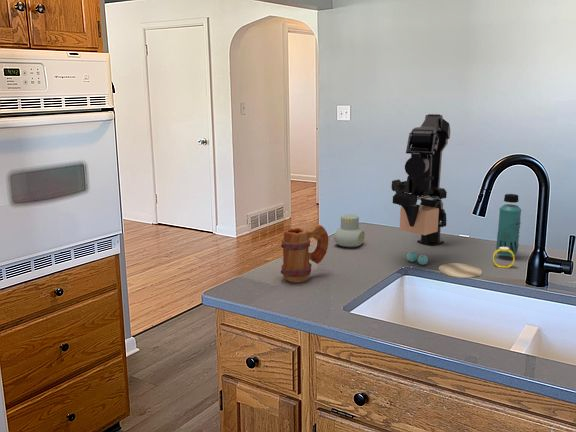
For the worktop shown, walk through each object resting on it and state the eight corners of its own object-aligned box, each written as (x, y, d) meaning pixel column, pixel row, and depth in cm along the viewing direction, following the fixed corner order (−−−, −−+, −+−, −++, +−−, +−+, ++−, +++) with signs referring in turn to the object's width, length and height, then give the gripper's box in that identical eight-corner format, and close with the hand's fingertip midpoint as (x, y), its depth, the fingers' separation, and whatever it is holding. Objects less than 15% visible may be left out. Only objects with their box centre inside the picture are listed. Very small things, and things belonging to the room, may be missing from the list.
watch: (492, 268, 171) (492, 248, 169) (492, 265, 173) (492, 246, 172) (514, 269, 169) (514, 249, 167) (514, 266, 171) (514, 246, 170)
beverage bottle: (494, 259, 178) (499, 195, 173) (495, 253, 184) (500, 191, 179) (517, 262, 175) (523, 197, 171) (517, 256, 181) (523, 193, 177)
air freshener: (355, 251, 188) (356, 221, 185) (331, 248, 191) (332, 218, 189) (366, 242, 197) (367, 214, 195) (343, 240, 201) (343, 211, 198)
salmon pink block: (412, 226, 178) (413, 203, 176) (437, 231, 171) (438, 208, 170) (399, 229, 174) (400, 206, 172) (424, 235, 167) (425, 211, 166)
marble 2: (421, 262, 175) (421, 252, 175) (429, 264, 173) (430, 255, 172) (415, 264, 173) (415, 254, 173) (423, 266, 171) (423, 257, 171)
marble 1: (410, 259, 178) (411, 250, 178) (418, 261, 176) (419, 252, 175) (404, 261, 176) (404, 251, 176) (412, 263, 174) (412, 254, 173)
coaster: (454, 262, 175) (454, 260, 175) (490, 271, 166) (490, 270, 166) (430, 270, 168) (430, 268, 168) (466, 281, 159) (466, 279, 159)
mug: (287, 287, 155) (287, 232, 151) (274, 278, 162) (273, 226, 158) (334, 278, 161) (335, 226, 158) (319, 270, 168) (319, 220, 165)
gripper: (418, 166, 180) (416, 215, 184) (378, 172, 169) (377, 224, 172) (449, 170, 172) (445, 221, 176) (409, 177, 160) (407, 231, 164)
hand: (418, 224), depth 172 cm, fingers closed on salmon pink block, 6 cm apart
